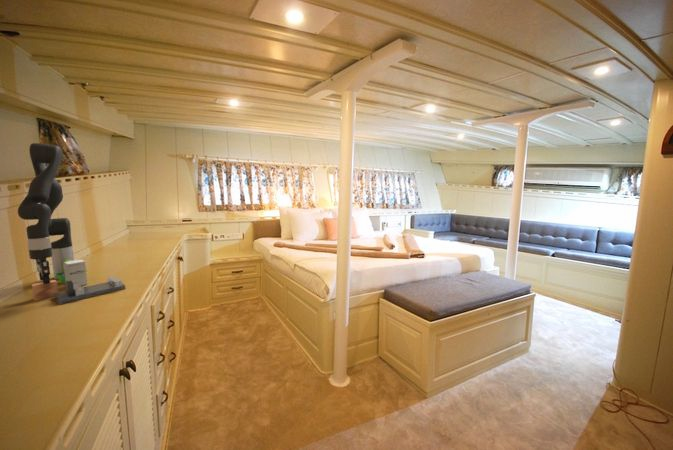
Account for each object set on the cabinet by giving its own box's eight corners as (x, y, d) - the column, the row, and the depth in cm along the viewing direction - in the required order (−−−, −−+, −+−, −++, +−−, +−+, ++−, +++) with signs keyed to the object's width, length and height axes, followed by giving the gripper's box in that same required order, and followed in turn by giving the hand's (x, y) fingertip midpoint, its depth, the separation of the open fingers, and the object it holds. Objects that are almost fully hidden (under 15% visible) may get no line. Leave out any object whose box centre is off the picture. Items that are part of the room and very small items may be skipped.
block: (35, 300, 137) (32, 285, 136) (33, 298, 139) (31, 284, 138) (58, 295, 143) (56, 281, 142) (57, 293, 145) (55, 279, 144)
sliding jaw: (64, 290, 143) (63, 280, 142) (78, 288, 147) (76, 277, 146) (70, 297, 136) (68, 285, 135) (84, 293, 139) (83, 282, 139)
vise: (53, 297, 140) (52, 288, 140) (117, 283, 159) (116, 275, 159) (59, 304, 133) (57, 294, 132) (125, 288, 152) (124, 280, 151)
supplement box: (69, 288, 152) (66, 264, 150) (66, 285, 157) (62, 261, 155) (88, 284, 158) (85, 261, 156) (84, 281, 163) (81, 258, 161)
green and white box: (61, 285, 157) (59, 264, 156) (55, 282, 162) (52, 261, 160) (88, 279, 167) (86, 259, 165) (81, 276, 171) (79, 257, 170)
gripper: (26, 247, 139) (31, 280, 142) (31, 251, 131) (36, 287, 133) (48, 244, 145) (52, 277, 147) (54, 248, 136) (59, 282, 139)
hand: (45, 281), depth 140 cm, fingers open, 8 cm apart
